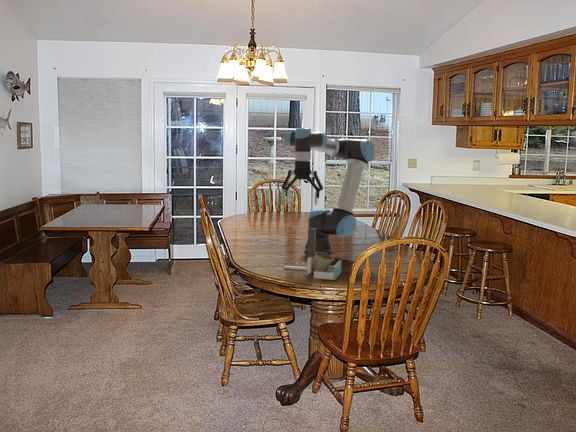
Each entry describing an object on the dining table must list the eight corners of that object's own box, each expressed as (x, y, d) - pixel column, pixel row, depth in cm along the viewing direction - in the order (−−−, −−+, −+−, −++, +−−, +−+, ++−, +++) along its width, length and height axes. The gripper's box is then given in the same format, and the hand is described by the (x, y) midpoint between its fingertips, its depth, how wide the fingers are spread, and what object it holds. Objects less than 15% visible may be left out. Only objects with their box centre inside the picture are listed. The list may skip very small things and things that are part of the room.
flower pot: (324, 278, 278) (330, 261, 276) (306, 271, 281) (311, 253, 279) (331, 274, 287) (336, 257, 285) (313, 267, 290) (318, 250, 288)
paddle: (310, 266, 293) (311, 225, 290) (318, 267, 292) (319, 226, 289) (304, 273, 280) (305, 230, 277) (312, 273, 279) (314, 230, 276)
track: (284, 267, 296) (284, 265, 296) (319, 270, 291) (319, 268, 291) (283, 268, 294) (283, 266, 294) (318, 271, 290) (318, 269, 289)
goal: (320, 271, 291) (320, 258, 290) (340, 272, 288) (341, 260, 287) (313, 278, 277) (314, 265, 277) (335, 279, 275) (335, 266, 274)
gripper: (275, 160, 293) (275, 203, 297) (326, 161, 287) (325, 206, 291) (279, 159, 301) (279, 201, 304) (329, 160, 295) (328, 204, 298)
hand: (302, 204), depth 297 cm, fingers open, 13 cm apart
